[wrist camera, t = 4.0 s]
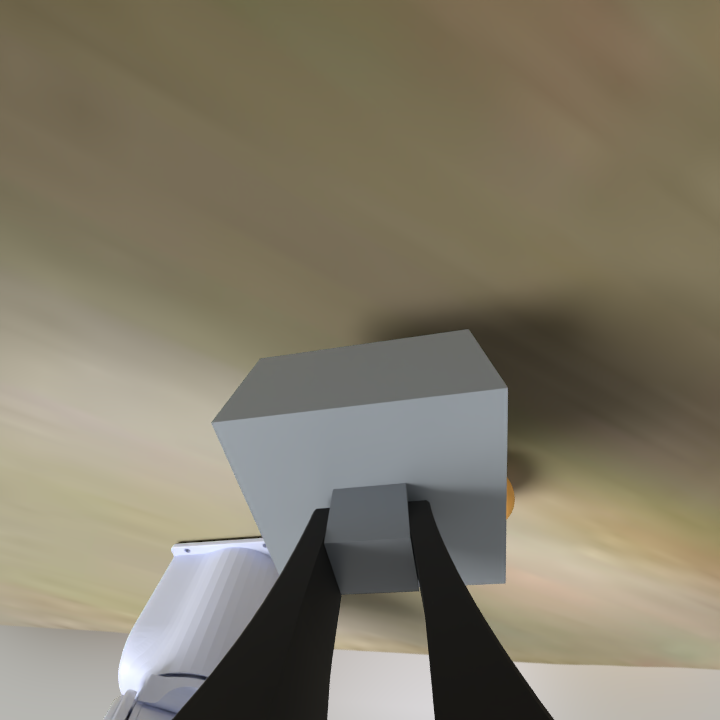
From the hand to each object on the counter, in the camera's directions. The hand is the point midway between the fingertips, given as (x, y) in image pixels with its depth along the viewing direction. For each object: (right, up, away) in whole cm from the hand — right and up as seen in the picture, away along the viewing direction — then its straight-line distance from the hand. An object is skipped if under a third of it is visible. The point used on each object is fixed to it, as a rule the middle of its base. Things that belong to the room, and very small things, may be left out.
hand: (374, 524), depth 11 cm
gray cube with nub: (0, +2, +5) cm, 5 cm away
